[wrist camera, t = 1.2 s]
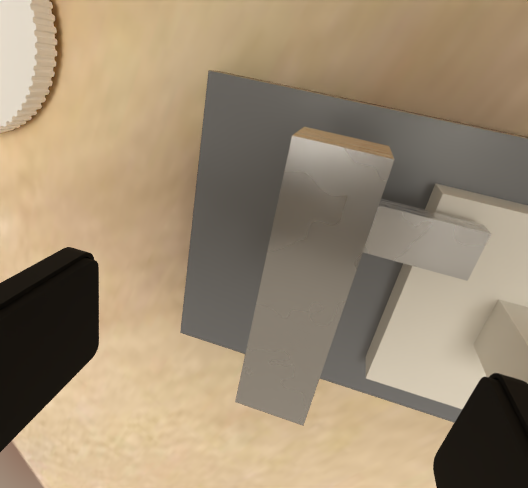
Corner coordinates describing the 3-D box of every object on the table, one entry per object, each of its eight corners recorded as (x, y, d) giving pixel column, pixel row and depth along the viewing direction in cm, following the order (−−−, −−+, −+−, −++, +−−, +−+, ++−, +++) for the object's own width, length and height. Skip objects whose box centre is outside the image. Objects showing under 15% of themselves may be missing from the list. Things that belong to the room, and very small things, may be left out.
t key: (499, 144, 17) (680, 226, 7) (428, 299, 21) (484, 488, 11) (330, 107, 19) (292, 135, 9) (292, 261, 23) (235, 401, 13)
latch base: (737, 182, 17) (768, 190, 16) (541, 434, 25) (551, 454, 24) (218, 71, 21) (208, 70, 20) (188, 321, 29) (180, 332, 27)
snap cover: (694, 245, 17) (879, 335, 11) (559, 417, 23) (634, 544, 16) (435, 183, 19) (470, 231, 13) (365, 356, 24) (366, 450, 18)
